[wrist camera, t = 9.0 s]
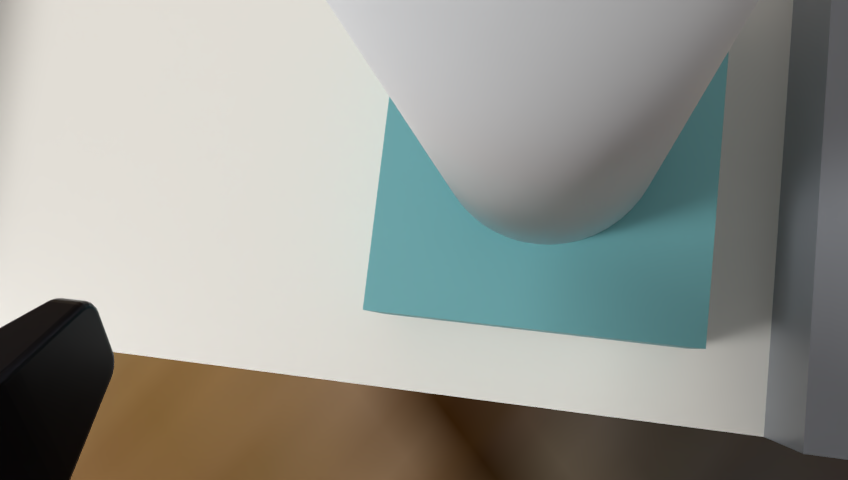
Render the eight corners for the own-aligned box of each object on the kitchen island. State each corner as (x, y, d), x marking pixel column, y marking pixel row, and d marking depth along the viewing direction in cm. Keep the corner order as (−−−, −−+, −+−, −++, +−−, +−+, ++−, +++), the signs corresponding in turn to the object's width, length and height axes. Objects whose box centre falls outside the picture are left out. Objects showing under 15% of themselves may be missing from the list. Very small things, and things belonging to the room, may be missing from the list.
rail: (1025, -15, 17) (1173, -129, 13) (1008, 462, 16) (1164, 503, 12) (-177, -60, 22) (-342, -152, 18) (-253, 299, 21) (-447, 288, 17)
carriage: (714, 3, 16) (1312, -1278, 3) (687, 348, 16) (1323, 359, 3) (424, -10, 17) (49, -1037, 4) (385, 314, 17) (-205, 203, 4)
